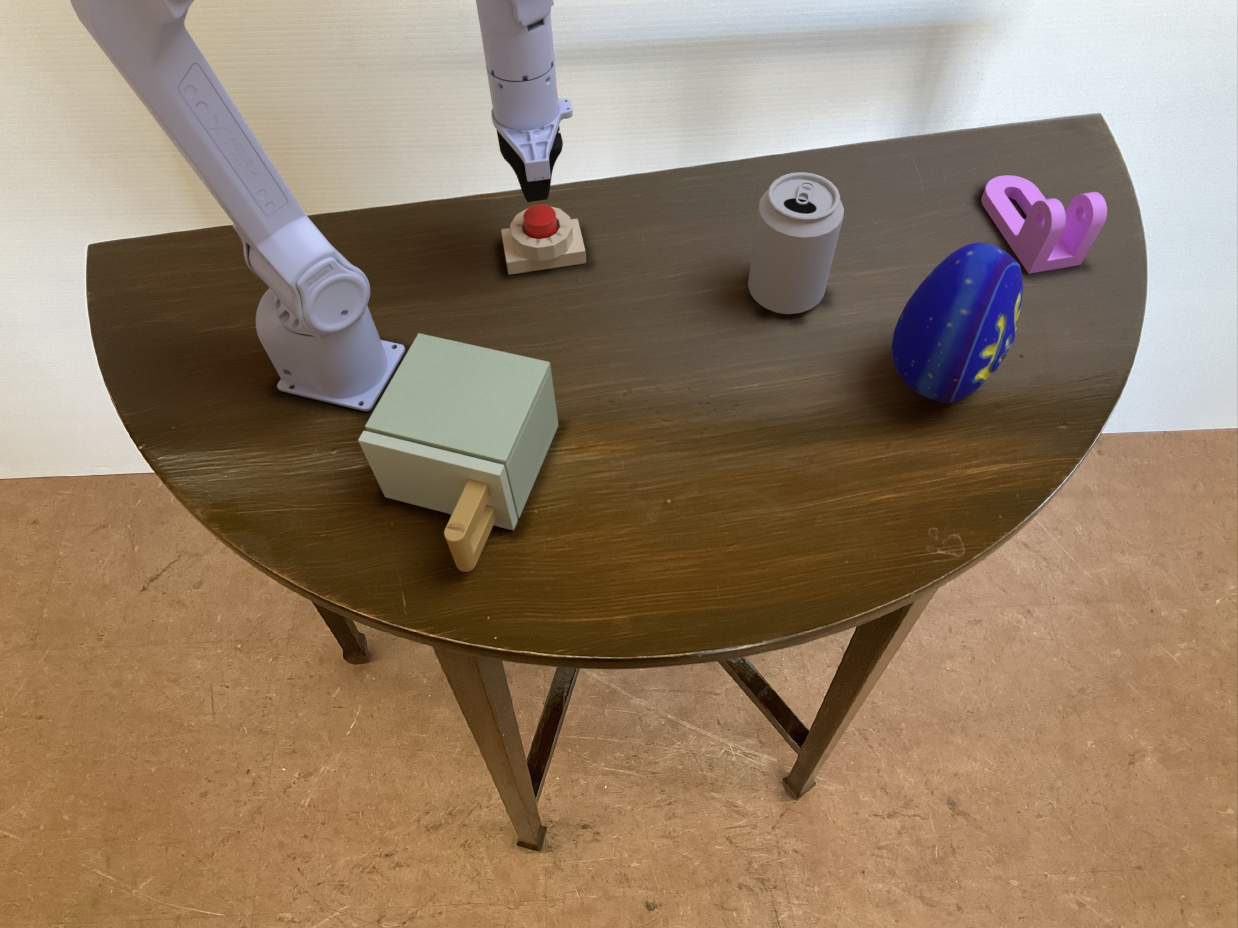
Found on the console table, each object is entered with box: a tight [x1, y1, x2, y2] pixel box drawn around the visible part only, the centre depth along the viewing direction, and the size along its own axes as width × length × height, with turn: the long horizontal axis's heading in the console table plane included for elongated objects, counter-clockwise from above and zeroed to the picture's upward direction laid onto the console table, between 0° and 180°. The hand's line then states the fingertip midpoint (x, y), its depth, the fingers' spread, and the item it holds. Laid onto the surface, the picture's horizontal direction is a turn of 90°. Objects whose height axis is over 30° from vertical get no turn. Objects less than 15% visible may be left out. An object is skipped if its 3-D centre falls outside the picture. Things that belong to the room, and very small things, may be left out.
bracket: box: [980, 174, 1108, 275], centre depth 86 cm, size 13×6×7 cm, turn 12°
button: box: [523, 204, 557, 239], centre depth 85 cm, size 3×3×2 cm
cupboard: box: [364, 332, 559, 519], centre depth 71 cm, size 10×12×9 cm
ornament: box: [891, 242, 1024, 404], centre depth 72 cm, size 11×9×15 cm
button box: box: [500, 206, 587, 276], centre depth 87 cm, size 8×6×4 cm
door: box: [357, 430, 519, 573], centre depth 66 cm, size 6×12×8 cm, turn 73°
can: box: [747, 171, 845, 315], centre depth 79 cm, size 8×8×12 cm
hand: (536, 196), depth 82 cm, fingers closed
